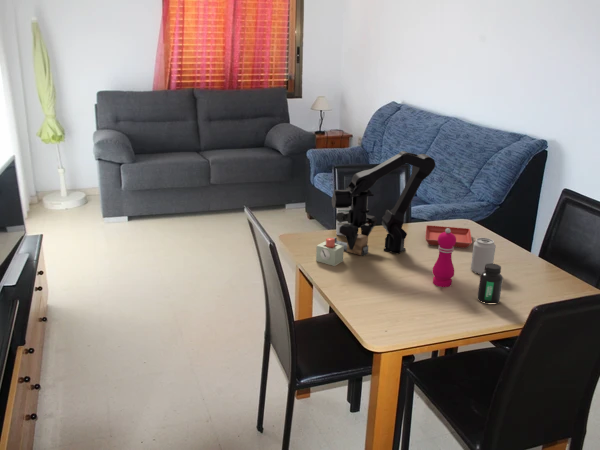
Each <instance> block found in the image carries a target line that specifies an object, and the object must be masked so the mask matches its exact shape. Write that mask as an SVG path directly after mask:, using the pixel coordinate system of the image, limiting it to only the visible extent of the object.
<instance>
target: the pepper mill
mask: <svg viewBox="0 0 600 450" xmlns="http://www.w3.org/2000/svg"><path fill="white" fill-rule="evenodd" d="M450 232H451V230H450V229H449V228H447V229H446V230H445V232H443V233H441V234H440V235H439V236H438V243H439V246H438V245H437V246H438V248H437V249H438V251H439V252H438V256H437V260H436V261H435V263H434V265H433V267H432V272H431V273H432V275H433V277H432V284H433V285H434V286H436V287H439V288H450V287H452V284H453V280H452V278H453V277H454V276H455V268H454V263H453V261H452V254H453V252H454V249H455V247H453V246H454V245H455V244H456V237H455V235H454V234H452V233H450Z"/></svg>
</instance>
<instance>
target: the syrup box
mask: <svg viewBox="0 0 600 450" xmlns="http://www.w3.org/2000/svg"><path fill="white" fill-rule="evenodd" d="M350 209H352V205H351V206H349V208H336V214H337V213H339V212H340V213H341V212H348V211H349V210H350ZM335 220H336V219H335ZM344 224H350V225H351V223H348V221H345V222H342V223H339V221H337V220H336V226H335V229H336V230H335V233H336V236H343V235H342V234H341V233H339V228H340V227H341V226H342V225H344Z"/></svg>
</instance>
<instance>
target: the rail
mask: <svg viewBox="0 0 600 450" xmlns="http://www.w3.org/2000/svg"><path fill="white" fill-rule="evenodd" d="M333 238H334V239H335V244H339V245H342V246H344V252H347V242H345V241H341V240H338V239H337V236H334V237H333ZM367 254H369V245H368V244H367V245H366V246H364V247H363V250H362V255H361V256H364V257H365V256H366V255H367Z"/></svg>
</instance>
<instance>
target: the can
mask: <svg viewBox="0 0 600 450" xmlns="http://www.w3.org/2000/svg"><path fill="white" fill-rule="evenodd" d="M472 247H473V248H472V254H471V262H470V270H472V272H473V271H474V272H473V273H475V272H476V273H475V274H477V273H479V274H478V275H481V274H482V273H483V272H484V269H485V265H486V264H488V263H493V264H494V260H495V253H496V244H495V241H494V239H492V238H489V237H477V238H476V239H475V241H474V242H473V246H472Z"/></svg>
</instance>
